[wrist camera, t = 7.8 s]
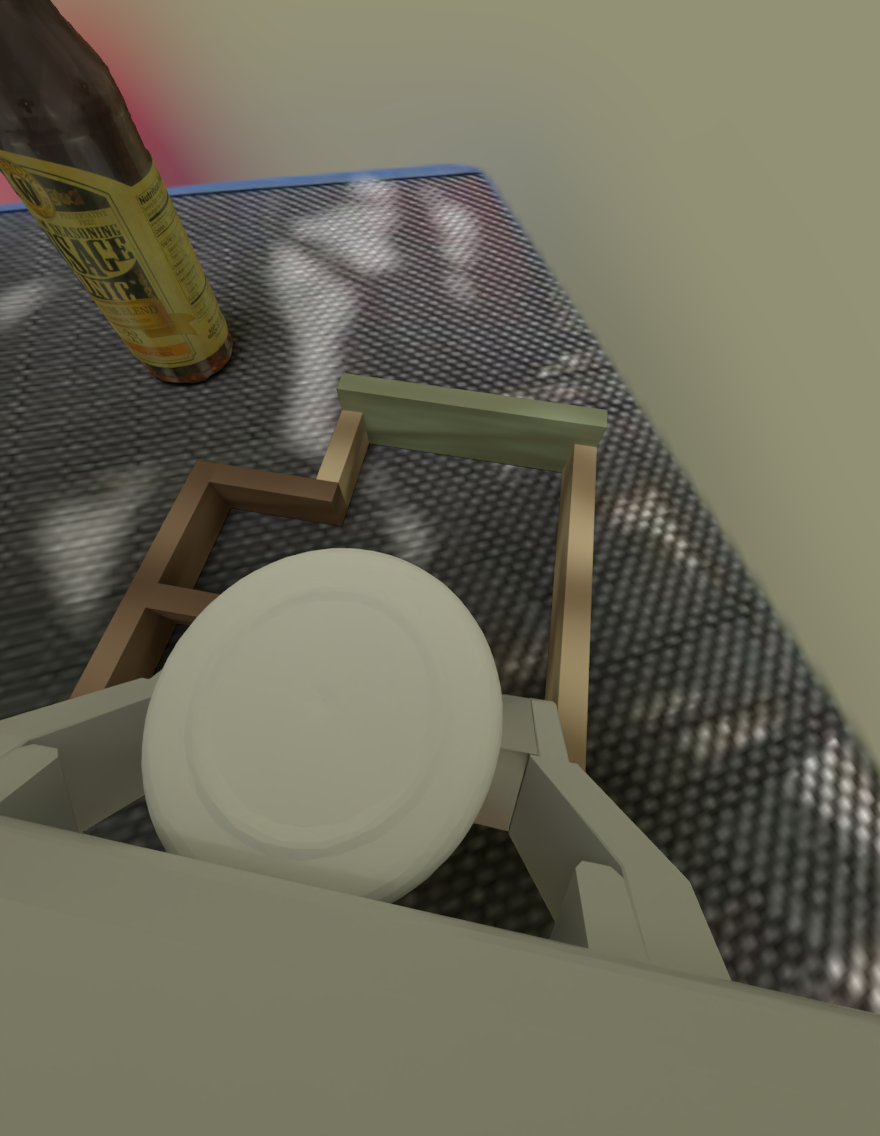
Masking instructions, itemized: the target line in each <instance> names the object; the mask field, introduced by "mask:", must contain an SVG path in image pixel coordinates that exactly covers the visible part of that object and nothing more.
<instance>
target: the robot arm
mask: <svg viewBox="0 0 880 1136" xmlns="http://www.w3.org/2000/svg"><path fill="white" fill-rule="evenodd" d="M161 672H162V670H161V671H160V672H158V673H157V674H156V675H154V676H153V677H152V678H150V679H145V678H139V679H136V680H133V681H129V682H126V683H123V684H120V685H116V686H113V687H110V688H106V689H103V690H100V691H96V692H93V693H90V694H86V695H83V696H80V697H76V698H73V699H70V700H67V701H63V702H60V703H57V704H53V705H50V706H47V707H43V708H40V709H37V710H33V711H30V712H27V713H24V714H20V715H17V716H14V717H10V718H7V719H4V720H0V1136H880V1015H879V1014H875V1013H870V1012H866V1011H862V1010H857V1009H853V1008H848V1007H844V1006H840V1005H835V1004H831V1003H826V1002H822V1001H818V1000H813V999H809V998H804V997H800V996H796V995H791V994H787V993H782V992H778V991H774V990H769V989H765V988H760V987H756V986H752V985H747V984H743V983H738V982H734V981H731V979H730V976H729V974H728V972H727V969H726V967H725V965H724V962H723V960H722V957H721V955H720V953H719V950H718V948H717V946H716V943H715V941H714V938H713V936H712V934H711V931H710V929H709V927H708V924H707V922H706V919H705V917H704V915H703V912H702V910H701V908H700V905H699V903H698V901H697V898H696V896H695V893H694V891H693V889H692V886H691V884H690V882H689V880H688V879H687V878H686V877H685V876H684V875H683V874H682V873H681V872H680V871H679V870H678V869H677V868H676V867H675V866H674V865H673V864H672V863H671V862H670V861H669V860H668V858H667V857H666V856H665V855H664V854H663V853H662V852H661V851H660V850H659V849H658V848H657V847H656V846H655V845H654V844H653V843H652V842H651V841H650V840H649V839H648V838H647V836H646V835H645V834H644V833H643V832H642V831H641V830H640V829H639V828H638V827H637V826H636V825H635V824H634V823H633V822H632V821H631V820H630V819H629V818H628V817H627V816H626V814H625V813H624V812H623V811H622V810H621V809H620V808H619V807H618V806H617V805H616V804H615V803H614V802H613V801H612V800H611V799H610V798H609V797H608V796H607V795H606V794H605V792H604V791H603V790H602V789H601V788H600V787H599V786H598V785H597V784H596V783H595V782H594V781H593V780H592V779H591V778H590V777H589V776H588V775H587V774H586V773H585V772H584V770H583V769H582V768H581V767H580V766H579V765H578V764H575V763H570V762H569V758H568V754H567V749H566V745H565V741H564V736H563V732H562V727H561V723H560V718H559V714H558V710H557V705H556V704H555V703H554V702H553V701H547V700H540V699H534V698H524V697H518V696H512V695H507V694H502V703H503V718H502V738H501V746H500V751H499V755H498V760H497V765H496V769H495V773H494V776H493V779H492V783H491V786H490V789H489V791H488V793H487V796H486V798H485V800H484V803H483V805H482V807H481V809H480V811H479V813H478V815H477V817H476V818H475V820H474V822H473V823H476V824H480V825H484V826H488V827H493V828H497V829H501V830H505V831H509V836H510V838H511V839H512V841H513V843H514V845H515V847H516V849H517V851H518V853H519V855H520V856H521V858H522V860H523V862H524V864H525V866H526V868H527V870H528V872H529V874H530V875H531V877H532V879H533V881H534V883H535V885H536V887H537V889H538V891H539V892H540V894H541V896H542V898H543V900H544V902H545V904H546V906H547V908H548V909H549V911H550V913H551V915H552V917H553V919H554V921H555V924H554V927H553V929H552V932H551V935H550V937H549V939H545V938H540V937H536V936H532V935H527V934H523V933H518V932H514V931H510V930H505V929H501V928H496V927H492V926H487V925H483V924H479V923H474V922H470V921H465V920H461V919H456V918H452V917H448V916H443V915H439V914H434V913H430V912H425V911H421V910H417V909H412V908H408V907H403V906H399V905H394V904H390V903H386V902H381V901H377V900H372V899H368V898H363V897H359V896H355V895H350V894H346V893H341V892H337V891H332V890H328V889H324V888H319V887H315V886H310V885H306V884H302V883H297V882H293V881H288V880H284V879H280V878H275V877H271V876H266V875H262V874H258V873H253V872H249V871H244V870H240V869H236V868H231V867H227V866H223V865H218V864H214V863H209V862H205V861H201V860H196V859H192V858H187V857H183V856H179V855H174V854H170V853H165V852H161V851H157V850H152V849H148V848H143V847H139V846H135V845H130V844H126V843H121V842H117V841H113V840H108V839H104V838H99V837H95V836H90V835H86V834H82V832H83V831H85V830H87V829H88V828H90V827H92V826H93V825H95V824H97V823H98V822H100V821H102V820H103V819H105V818H107V817H108V816H110V815H112V814H113V813H115V812H117V811H118V810H120V809H122V808H123V807H125V806H127V805H128V804H130V803H132V802H133V801H135V800H137V799H138V798H140V797H142V796H143V795H145V794H144V787H143V777H142V768H141V762H142V742H143V733H144V726H145V719H146V715H147V711H148V706H149V702H150V700H151V697H152V694H153V691H154V688H155V685H156V683H157V680H158V678H159V676H160V674H161Z"/></svg>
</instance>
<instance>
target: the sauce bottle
mask: <svg viewBox="0 0 880 1136" xmlns="http://www.w3.org/2000/svg"><path fill="white" fill-rule="evenodd" d="M0 171H1V172H2V174H3V175H4V176H5V178H6V179H7V181H8V182H9V184H10V185H11V187H12V188H13V189H14V191H15V192H16V194H17V195H18V196H19V197H20V199H21V200H22V202H23V203H24V204H25V206H26V207H27V208H28V210H29V211H30V213H31V214H32V216H33V217H34V218H35V220H36V221H37V222H38V224H39V225H40V227H41V228H42V230H43V231H44V232H45V234H46V235H47V237H48V238H49V239H50V241H51V242H52V243H53V245H54V246H55V248H56V249H57V251H58V252H59V253H60V254H61V256H62V257H63V258H64V260H65V261H66V262H67V264H68V265H69V267H70V268H71V270H72V271H73V273H74V274H75V276H76V277H77V279H78V280H79V282H80V283H81V284H82V286H83V287H84V288H85V289H86V290H87V292H88V293H89V295H90V296H91V297H92V299H93V300H94V301H95V303H96V304H97V306H98V307H99V308H100V310H101V311H102V313H103V314H104V315H105V317H106V318H107V320H108V321H109V322H110V324H111V325H112V326H113V328H114V329H115V331H116V332H117V333H118V335H119V336H120V337H121V339H122V340H123V342H124V343H125V344H126V346H127V347H128V349H129V350H130V351H131V353H132V354H133V355H134V356H135V357H136V358H138V359H139V360H140V361H141V363H142V364H143V365H144V366H145V367H146V368H147V369H148V370H149V371H150V373H151V374H152V375H154V376H155V377H156V378H159V379H161V380H163V381H167V382H173V383H185V382H189V383H196V382H201V381H204V380H206V379H207V378H209V377H210V376H211V375H213V374H215V373H216V372H218V371H220V370H221V369H222V368H223V367H224V366H225V365H226V364H227V362H228V361H229V359H230V358H231V354H232V351H233V350H232V348H233V341H232V337H231V333H230V332H229V331H228V327H227V323H226V321H225V319H224V316H223V314H222V312H221V310H220V307H219V305H218V303H217V301H216V298H215V296H214V294H213V292H212V290H211V287H210V285H209V283H208V281H207V278H206V276H205V274H204V272H203V270H202V267H201V265H200V263H199V261H198V258H197V256H196V254H195V252H194V249H193V247H192V245H191V243H190V241H189V238H188V236H187V234H186V232H185V230H184V227H183V225H182V223H181V221H180V219H179V216H178V214H177V212H176V210H175V207H174V205H173V203H172V201H171V198H170V196H169V194H168V192H167V190H166V188H165V185H164V183H163V181H162V178H161V176H160V174H159V172H158V170H157V167H156V165H155V163H154V161H153V158H152V156H151V154H150V153H149V151H148V150H147V149H146V148H145V147H144V144H143V142H142V140H141V137H140V135H139V133H138V131H137V129H136V126H135V124H134V122H133V121H132V119H131V115H130V113H129V111H128V109H127V106H126V103H125V100H124V98H123V96H122V94H121V92H120V90H119V88H118V87H117V85H116V83H115V81H114V79H113V77H112V76H111V74H110V71H109V68H108V67H107V66H106V65H105V63H104V62H103V61H102V59H101V58H100V56H99V55H98V54H97V53H96V52H95V51H94V49H92V47H91V46H90V45H89V44H88V43H87V42H86V41H85V40H84V39H83V38H82V37H81V35H80V34H78V33H77V31H76V30H75V29H74V28H73V26H72V25H71V24H70V23H69V22H68V21H66V19H65V18H64V17H63V16H62V15H61V14H60V13H59V11H58V10H57V8H56V7H55V6H54V5H53V3H52V2H51V1H50V0H0Z"/></svg>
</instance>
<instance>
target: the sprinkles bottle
mask: <svg viewBox="0 0 880 1136" xmlns="http://www.w3.org/2000/svg"><path fill="white" fill-rule="evenodd" d="M502 718H503V703H502V694H501V686H500V682H499V677H498V673H497V669H496V665H495V662H494V658H493V656H492V653H491V650H490V647H489V645H488V643H487V641H486V639H485V636H484V634H483V632H482V630H481V629H480V627H479V625H478V624H477V622H476V621H475V619H474V618H473V616H472V615H471V613H470V612H469V611H468V609H467V608H466V607H465V605H464V604H463V603H462V602H461V600H460V599H459V598H458V597H457V596H456V595H455V594H454V593H453V592H452V591H451V590H450V589H449V588H448V587H447V586H445V585H444V584H443V583H442V582H441V581H439V580H438V579H436V578H435V577H434V576H432V575H430V574H429V573H427V572H426V571H424V570H423V569H421V568H419V567H417V566H415V565H413V564H411V563H409V562H407V561H405V560H403V559H400V558H397V557H394V556H391V555H388V554H384V553H380V552H376V551H370V550H362V549H352V548H330V549H323V550H315V551H309V552H305V553H301V554H297V555H293V556H289V557H286V558H283V559H281V560H278V561H276V562H273V563H271V564H269V565H267V566H264V567H262V568H260V569H258V570H256V571H254V572H252V573H251V574H249V575H247V576H245V577H244V578H242V579H241V580H239V581H238V582H236V583H235V584H234V585H232V586H231V587H229V588H228V589H227V590H225V591H224V592H223V593H222V594H221V595H220V596H218V597H217V598H216V599H215V600H214V601H212V602H211V603H210V604H209V605H208V606H207V607H206V608H205V609H204V610H203V611H202V612H201V613H200V614H199V616H198V617H197V618H196V619H195V620H194V621H193V623H192V624H191V625H190V626H189V628H188V629H187V630H186V632H185V633H184V634H183V635H182V637H181V638H180V639H179V640H178V642H177V644H176V645H175V647H174V649H173V650H172V652H171V654H170V655H169V657H168V659H167V661H166V663H165V665H164V667H163V669H162V672H161V674H160V676H159V678H158V680H157V683H156V685H155V688H154V691H153V694H152V697H151V700H150V702H149V706H148V711H147V715H146V719H145V726H144V733H143V742H142V762H141V768H142V777H143V787H144V794H145V798H146V803H147V807H148V811H149V815H150V818H151V820H152V823H153V826H154V828H155V831H156V834H157V835H158V837H159V839H160V841H161V843H162V845H163V847H164V849H165V850H166V852H167V853H170V854H174V855H179V856H183V857H187V858H192V859H196V860H201V861H205V862H209V863H214V864H218V865H223V866H227V867H231V868H236V869H240V870H244V871H249V872H253V873H258V874H262V875H266V876H271V877H275V878H280V879H284V880H288V881H293V882H297V883H302V884H306V885H310V886H315V887H319V888H324V889H328V890H332V891H337V892H341V893H346V894H350V895H355V896H359V897H363V898H368V899H372V900H377V901H381V902H386V903H390V904H392V903H394V902H396V901H397V900H399V899H400V898H402V897H403V896H405V895H406V894H407V893H409V892H410V891H412V890H413V889H415V888H416V887H417V886H418V885H420V884H421V883H422V882H424V881H425V880H426V879H427V878H429V877H430V876H431V875H432V874H433V873H434V872H435V871H436V870H437V869H438V868H439V867H440V866H441V865H442V864H443V863H444V862H445V861H446V860H447V859H448V858H449V857H450V856H451V854H452V853H453V852H454V850H455V849H456V848H457V847H458V845H459V844H460V843H461V841H462V840H463V839H464V837H465V835H466V834H467V832H468V831H469V829H470V828H471V826H472V824H473V822H474V820H475V818H476V817H477V815H478V813H479V811H480V809H481V807H482V805H483V803H484V800H485V798H486V796H487V793H488V791H489V789H490V786H491V783H492V779H493V776H494V773H495V769H496V765H497V760H498V755H499V751H500V746H501V738H502Z"/></svg>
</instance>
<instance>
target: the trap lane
mask: <svg viewBox="0 0 880 1136" xmlns="http://www.w3.org/2000/svg"><path fill="white" fill-rule="evenodd" d="M337 393H338V396H339V400H340V404H341V407H342V412H341V414H340V417H339V420H338V422H337V425H336V428H335V430H334V433H333V436H332V438H331V441H330V444H329V446H328V449H327V452H326V454H325V457H324V460H323V462H322V465H321V467H320V470H319V473H318V475H317V478H316V479H313V478H306V477H300V476H294V475H288V474H281V473H275V472H269V471H262V470H256V469H250V468H244V467H237V466H231V465H225V464H219V463H212V462H206V461H200V460H197V461H196V463H195V465H194V467H193V469H192V471H191V472H190V474H189V476H188V478H187V480H186V482H185V484H184V485H183V487H182V489H181V491H180V493H179V495H178V497H177V499H176V500H175V502H174V504H173V506H172V508H171V510H170V512H169V513H168V515H167V517H166V519H165V521H164V523H163V525H162V527H161V528H160V530H159V532H158V534H157V536H156V538H155V540H154V542H153V543H152V545H151V547H150V549H149V551H148V553H147V555H146V556H145V558H144V560H143V562H142V564H141V566H140V568H139V570H138V571H137V573H136V575H135V577H134V579H133V581H132V583H131V584H130V586H129V588H128V590H127V592H126V594H125V596H124V598H123V599H122V601H121V603H120V605H119V607H118V609H117V611H116V613H115V614H114V616H113V618H112V620H111V622H110V624H109V626H108V627H107V629H106V631H105V633H104V635H103V637H102V639H101V641H100V642H99V644H98V646H97V648H96V650H95V652H94V654H93V655H92V657H91V659H90V661H89V663H88V665H87V667H86V669H85V670H84V672H83V674H82V676H81V678H80V680H79V682H78V684H77V685H76V687H75V689H74V691H73V693H72V695H71V697H70V698H69V700H70V699H73V698H76V697H80V696H83V695H86V694H90V693H93V692H96V691H100V690H103V689H106V688H110V687H113V686H116V685H120V684H123V683H126V682H129V681H133V680H136V679H139V678H145V679H150V678H152V676H153V674H154V672H155V670H156V668H157V666H158V663H159V661H160V659H161V657H162V655H163V653H164V651H165V648H166V646H167V644H168V642H169V640H170V638H171V636H172V633H173V631H174V629H175V627H176V625H177V624H182V625H187V626H190V625H191V624H192V623H193V621H194V620H195V619H196V618H197V617H198V616H199V614H200V613H201V612H202V611H203V610H204V609H205V608H206V607H207V606H208V605H209V604H210V603H211V602H212V601H214V600H215V599H216V598H217V597H218V596H220V594H215V593H209V592H204V591H198V590H193V588H194V586H195V584H196V582H197V580H198V577H199V575H200V573H201V571H202V569H203V567H204V565H205V562H206V560H207V558H208V556H209V554H210V552H211V550H212V547H213V545H214V543H215V541H216V539H217V537H218V534H219V532H220V530H221V528H222V526H223V524H224V522H225V519H226V517H227V515H228V513H229V511H230V509H231V508H234V509H240V510H246V511H252V512H258V513H264V514H270V515H276V516H282V517H288V518H294V519H300V520H306V521H312V522H318V523H324V524H330V525H336V526H342V525H343V522H344V518H345V515H346V512H347V509H348V506H349V503H350V500H351V497H352V494H353V491H354V488H355V485H356V482H357V479H358V476H359V473H360V469H361V466H362V463H363V460H364V457H365V454H366V451H367V448H368V445H369V443H371V444H378V445H384V446H391V447H398V448H404V449H411V450H417V451H424V452H431V453H437V454H444V455H450V456H457V457H463V458H470V459H477V460H483V461H490V462H496V463H503V464H510V465H516V466H523V467H529V468H536V469H542V470H549V471H556V472H562V480H561V493H560V506H559V519H558V533H557V546H556V559H555V572H554V585H553V598H552V611H551V624H550V637H549V650H548V664H547V677H546V690H545V700H547V701H553V702H554V703H555V704H556V705H557V710H558V714H559V718H560V723H561V727H562V732H563V736H564V741H565V745H566V749H567V754H568V758H569V762H570V763H575V764H578V765H579V766H580V767H581V768H582V769H583V770H584V772H585V768H586V739H587V710H588V682H589V653H590V624H591V595H592V566H593V538H594V509H595V480H596V451H597V446H598V444H599V442H600V440H601V438H602V436H603V434H604V432H605V430H606V428H607V410H602V409H595V408H588V407H581V406H574V405H566V404H559V403H552V402H545V401H538V400H531V399H524V398H517V397H509V396H502V395H495V394H488V393H481V392H474V391H467V390H460V389H453V388H445V387H438V386H431V385H424V384H417V383H410V382H403V381H396V380H388V379H381V378H374V377H367V376H360V375H353V374H346V373H342V376H341V378H340V381H339V384H338V386H337ZM142 797H145V795H143V796H142Z"/></svg>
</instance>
